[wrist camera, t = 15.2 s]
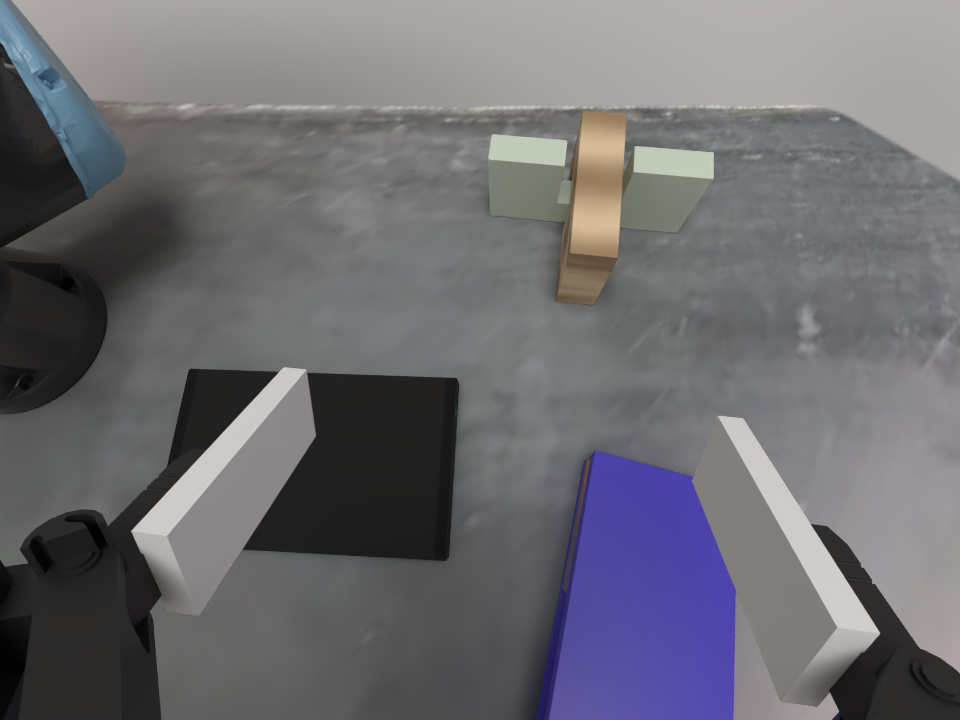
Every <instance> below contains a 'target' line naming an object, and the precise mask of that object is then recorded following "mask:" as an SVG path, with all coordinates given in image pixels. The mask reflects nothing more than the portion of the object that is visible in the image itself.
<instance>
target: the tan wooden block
mask: <svg viewBox="0 0 960 720" xmlns="http://www.w3.org/2000/svg"><path fill="white" fill-rule="evenodd" d="M625 129H626V114H618V113H605V112H592V111H583V113H582V117H581V122H580V126H579V131H578V136H577V140H576V145H575V149H574V154H573V158H572V163H571V167H570V172H569V177H568V181H572V185H571V196H570V203H569V207H568V212H567V216H566V220H565V224H564V228H563V232H562V242H561V252H560V263H559V273H558V283H557V294H556V301H558V302H567V303H577V304H586V305H594V304H595V302H596V300H597V298H598V296H599V294H600V292H601V290H602V288H603V286H604V284H605V282H606V280H607V278H608V276H609V274H610V272H611V270H612V268H613V266H614V264H615V262H616V260H617V258H618V246H619V229H620V212H621V196H622V179H623V162H624V146H625Z"/></svg>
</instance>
